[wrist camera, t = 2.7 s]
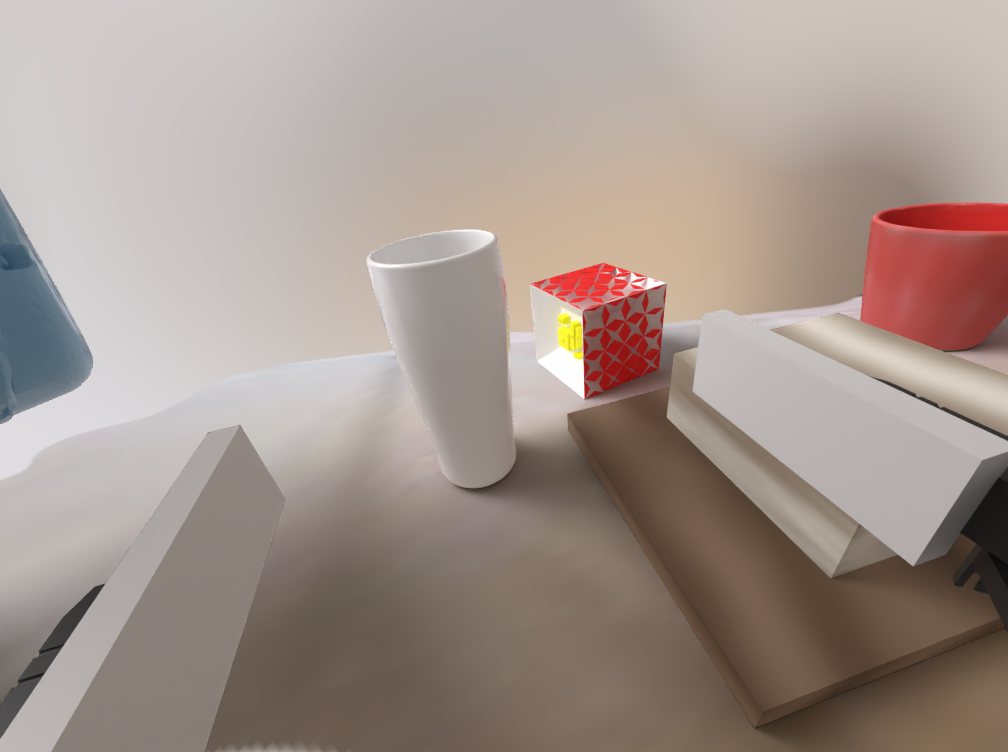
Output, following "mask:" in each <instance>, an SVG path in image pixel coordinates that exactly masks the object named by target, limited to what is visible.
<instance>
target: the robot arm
mask: <svg viewBox="0 0 1008 752" xmlns="http://www.w3.org/2000/svg"><path fill="white" fill-rule="evenodd" d="M92 367H93V358H92V354H91V352H90V350H89V347H88V345H87V343H86V341H85V339H84V337H83V335H82V333H81V331H80V329H79V328H78V326H77V324H76V322H75V320H74V318H73V316H72V315H71V313H70V311H69V309H68V307H67V305H66V303H65V302H64V300H63V298H62V296H61V294H60V293H59V291H58V289H57V287H56V285H55V284H54V282H53V280H52V278H51V277H50V275H49V273H48V271H47V269H46V268H45V266H44V264H43V262H42V261H41V259H40V257H39V255H38V254H37V252H36V250H35V248H34V247H33V245H32V243H31V242H30V240H29V238H28V236H27V234H26V233H25V231H24V229H23V227H22V226H21V224H20V222H19V220H18V219H17V217H16V215H15V213H14V212H13V210H12V208H11V207H10V205H9V203H8V201H7V200H6V198H5V196H4V195H3V193H2V191H1V190H0V424H2V423H4V422H7V421H9V420H10V419H11V418H12V416H13V415H15V414H18V413H20V412H22V411H25V410H27V409H30V408H32V407H35V406H37V405H39V404H42V403H44V402H47V401H49V400H52V399H54V398H56V397H59V396H61V395H64V394H66V393H69V392H71V391H73V390H74V389H76V388H78V387H79V386H80V385H81V384H82V383H83V382H84V381H85V380H86V379H87V378H88V377H89V375H90V372H91V370H92ZM693 392H694V393H695V394H697V395H698V396H699V397H700V398H702V399H703V400H704V401H705V402H707V403H708V404H709V405H710V406H712V407H713V408H714V409H715V410H717V411H718V412H719V413H721V414H722V415H723V416H724V417H726V418H727V419H728V420H729V421H731V422H732V423H733V424H734V425H736V426H737V427H738V428H739V429H741V430H742V431H743V432H744V433H746V434H747V435H748V436H749V437H751V438H752V439H753V440H755V441H756V442H757V443H758V444H760V445H761V446H762V447H763V448H765V449H766V450H767V451H768V452H770V453H771V454H772V455H773V456H775V457H776V458H777V459H778V460H780V461H781V462H782V463H783V464H785V465H786V466H787V467H789V468H790V469H791V470H792V471H794V472H795V473H796V474H797V475H799V476H800V477H801V478H802V479H804V480H805V481H806V482H807V483H809V484H810V485H811V486H812V487H814V488H815V489H816V490H817V491H819V492H820V493H821V494H823V495H824V496H825V497H826V498H828V499H829V500H830V501H831V502H833V503H834V504H835V505H836V506H838V507H839V508H840V509H841V510H843V511H844V512H845V513H846V514H848V515H849V516H850V517H851V518H853V519H854V520H855V521H857V522H858V523H859V524H860V525H862V526H863V527H864V528H865V529H867V530H868V531H869V532H870V533H872V534H873V535H874V536H875V537H877V538H878V539H879V540H880V541H882V542H883V543H884V544H885V545H887V546H888V547H889V548H891V549H892V550H893V551H894V552H896V553H897V554H898V555H899V556H901V557H902V558H903V559H904V560H906V561H907V562H908V563H909V564H911V565H912V566H916V565H919V564H921V563H924V562H927V561H930V560H933V559H935V558H938V557H941V556H944V555H946V554H947V552H948V551H949V549H950V548H951V547H952V545H953V544H954V542H955V541H956V539H957V538H958V537H959V535H960V534H963V535H964V536H966V537H967V538H969V539H970V540H972V541H973V542H975V543H976V545H975V546H974V548H973V549H972V550H971V552H970V553H969V554H968V556H967V557H966V558H965V560H964V561H963V562H962V564H961V565H960V566H959V568H958V569H957V570H956V572H955V573H954V574H953V581H954V585H955V586H959V587H963V585H964V584H965V583H966V582H967V580H968V579H969V578H970V577H971V575H972V574H973V573H978V574H979V576H980V578H979V580H978V581H977V582H976V584H975V586H974V588H973V589H974V590H975V591H978V592H982V593H986V594H989V596H990V598H991V600H992V602H993V604H994V606H995V608H996V610H997V612H998V614H999V616H1000V618H1001V620H1002V622H1003V624H1004V626H1005V628H1006V630H1007V632H1008V436H1007V435H1005V434H1002V433H1000V432H998V431H996V430H994V429H991V428H989V427H987V426H985V425H983V424H981V423H978V422H976V421H974V420H972V419H970V418H967V417H965V416H963V415H961V414H959V413H957V412H954V411H952V410H950V409H948V408H946V407H942V408H940V407H939V406H938V404H937V403H935V402H933V401H930V400H928V399H926V398H924V397H922V396H921V397H917V396H916V394H915V393H913V392H911V391H909V390H906V389H904V388H902V387H900V386H898V385H895V384H893V383H891V382H889V381H885V380H881V379H878V378H874V377H871V376H867V375H865V374H863V373H861V372H859V371H857V370H854V369H852V368H850V367H848V366H846V365H844V364H842V363H839V362H837V361H835V360H833V359H831V358H829V357H827V356H824V355H822V354H820V353H818V352H816V351H814V350H812V349H809V348H807V347H805V346H803V345H801V344H799V343H797V342H794V341H792V340H790V339H788V338H786V337H784V336H781V335H779V334H777V333H775V332H773V331H771V330H769V329H766V328H764V327H762V326H760V325H758V324H756V323H754V322H751V321H749V320H747V319H745V318H743V317H741V316H739V315H736V314H734V313H732V312H730V311H728V310H726V309H724V310H720V311H716V312H711V313H707V314H703V315H702V321H701V329H700V337H699V344H698V352H697V360H696V368H695V375H694V383H693ZM284 502H285V498H284V496H283V495H282V493H281V491H280V490H279V488H278V486H277V485H276V483H275V482H274V480H273V478H272V477H271V475H270V473H269V472H268V470H267V468H266V467H265V465H264V463H263V462H262V460H261V458H260V457H259V455H258V454H257V452H256V450H255V449H254V447H253V445H252V444H251V442H250V440H249V439H248V437H247V435H246V434H245V432H244V430H243V429H242V427H241V425H237V426H233V427H229V428H225V429H220V430H216V431H212V432H208V433H207V435H206V436H205V438H204V439H203V441H202V442H201V444H200V445H199V447H198V448H197V450H196V451H195V453H194V454H193V456H192V457H191V458H190V460H189V461H188V463H187V464H186V466H185V467H184V469H183V470H182V472H181V473H180V475H179V476H178V478H177V479H176V481H175V482H174V484H173V485H172V487H171V488H170V489H169V491H168V492H167V494H166V495H165V497H164V498H163V500H162V501H161V503H160V504H159V506H158V507H157V509H156V510H155V512H154V513H153V515H152V516H151V517H150V519H149V520H148V522H147V523H146V525H145V526H144V528H143V529H142V531H141V532H140V534H139V535H138V537H137V538H136V540H135V541H134V543H133V544H132V546H131V547H130V548H129V550H128V551H127V553H126V554H125V556H124V557H123V559H122V560H121V562H120V563H119V565H118V566H117V568H116V569H115V571H114V572H113V574H112V575H111V577H110V578H109V579H108V581H107V582H106V584H103V585H99V586H95V587H94V588H93V589H92V590H91V591H90V592H89V593H88V594H87V595H86V596H85V597H84V598H83V599H82V600H81V601H80V602H79V603H78V604H77V605H76V606H75V607H73V608H72V609H71V610H70V611H69V612H68V613H67V614H66V615H65V616H64V617H63V618H62V620H61V621H60V622H59V624H58V625H57V627H56V628H55V629H54V631H53V632H52V634H51V635H50V636H49V638H48V639H47V640H46V642H45V643H44V645H43V646H42V647H41V649H40V650H39V656H38V657H36V658H34V659H33V660H32V661H31V663H30V664H29V665H28V667H27V668H26V670H25V671H24V672H23V674H22V675H21V677H20V678H19V679H18V686H17V687H15V688H12V689H11V690H10V692H9V693H8V695H7V696H6V697H5V699H4V700H3V702H2V703H1V704H0V752H205V749H206V746H207V742H208V739H209V736H210V733H211V730H212V727H213V724H214V721H215V718H216V714H217V711H218V708H219V705H220V702H221V699H222V696H223V693H224V689H225V686H226V683H227V680H228V677H229V674H230V671H231V668H232V665H233V661H234V658H235V655H236V652H237V649H238V646H239V643H240V640H241V636H242V633H243V630H244V627H245V624H246V621H247V618H248V615H249V611H250V608H251V605H252V602H253V599H254V596H255V593H256V590H257V587H258V583H259V580H260V577H261V574H262V571H263V568H264V565H265V562H266V558H267V555H268V552H269V549H270V546H271V543H272V540H273V537H274V534H275V530H276V527H277V524H278V521H279V518H280V515H281V512H282V509H283V505H284Z"/></svg>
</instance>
